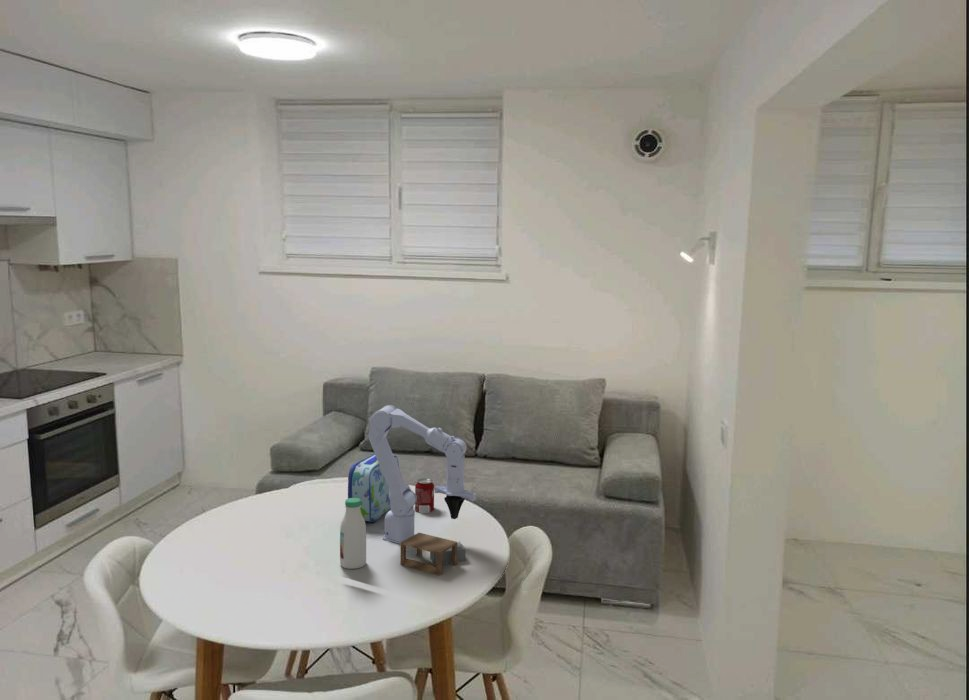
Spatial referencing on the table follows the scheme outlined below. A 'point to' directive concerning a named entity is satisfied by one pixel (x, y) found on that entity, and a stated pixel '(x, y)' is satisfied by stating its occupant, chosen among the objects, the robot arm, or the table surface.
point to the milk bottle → (353, 536)
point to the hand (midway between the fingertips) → (454, 518)
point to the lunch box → (369, 488)
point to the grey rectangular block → (450, 554)
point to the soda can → (424, 495)
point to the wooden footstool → (429, 545)
